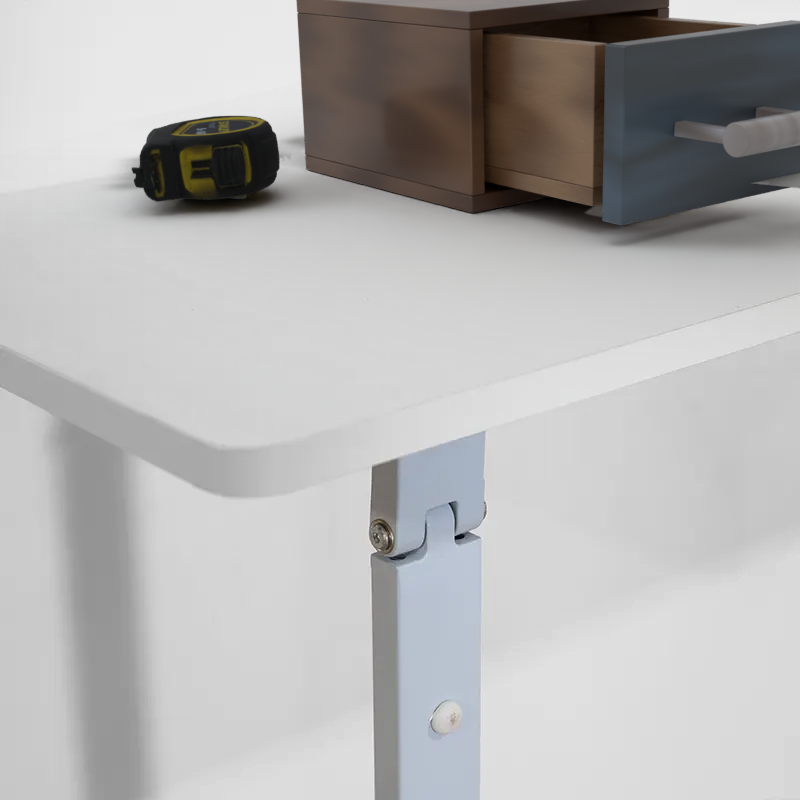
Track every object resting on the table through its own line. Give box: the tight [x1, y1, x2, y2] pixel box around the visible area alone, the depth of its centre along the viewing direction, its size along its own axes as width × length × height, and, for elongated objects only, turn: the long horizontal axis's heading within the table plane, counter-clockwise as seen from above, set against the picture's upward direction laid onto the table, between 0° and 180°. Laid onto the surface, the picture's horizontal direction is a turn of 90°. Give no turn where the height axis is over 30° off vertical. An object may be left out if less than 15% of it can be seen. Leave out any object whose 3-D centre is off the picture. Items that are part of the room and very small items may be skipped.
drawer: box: [482, 14, 800, 227], centre depth 63 cm, size 18×11×7 cm, turn 36°
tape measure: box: [131, 115, 280, 203], centre depth 69 cm, size 7×7×4 cm
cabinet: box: [295, 0, 670, 214], centre depth 72 cm, size 15×13×9 cm
